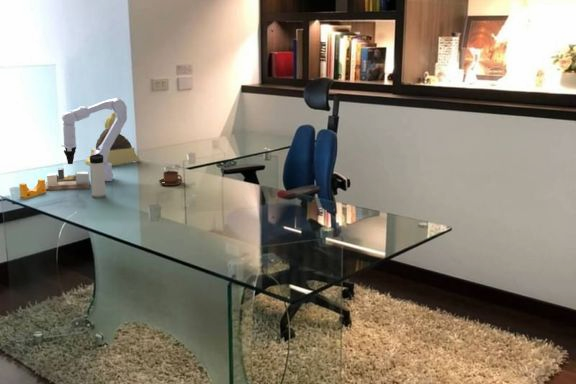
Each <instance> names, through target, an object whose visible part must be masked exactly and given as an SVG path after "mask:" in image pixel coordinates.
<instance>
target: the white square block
mask: <svg viewBox="0 0 576 384" xmlns="http://www.w3.org/2000/svg"><path fill="white" fill-rule="evenodd" d="M57 176H58V172H48V173H47V175H46V179H47V181H46V182H48V186H58V182H57Z"/></svg>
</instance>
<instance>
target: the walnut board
mask: <svg viewBox="0 0 576 384" xmlns="http://www.w3.org/2000/svg"><path fill="white" fill-rule="evenodd" d="M89 187H90V184H89V185H76V181H66V182H58V186H48V182H47V181H45V188H46V192H49V191H68V190H70V191H71V190H87V189H90V188H89Z"/></svg>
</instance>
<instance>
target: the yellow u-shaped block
mask: <svg viewBox="0 0 576 384" xmlns="http://www.w3.org/2000/svg"><path fill="white" fill-rule="evenodd" d="M45 180H46V179H43V178H41V179H40V178H39V179H37V185H36V186H35V187H34V188H32V189H30V188H29V187H28V185H27V183H25V182H21V183H19V196H20V197H21V198H23V199H29V198H33V197H37V196H39V195H40V194H45V193H47V191H46V188H45V184H46V181H45Z"/></svg>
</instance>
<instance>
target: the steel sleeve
mask: <svg viewBox="0 0 576 384" xmlns="http://www.w3.org/2000/svg"><path fill="white" fill-rule="evenodd" d="M75 175H76V185H89V186H90V175H89V171H76V172H75Z"/></svg>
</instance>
